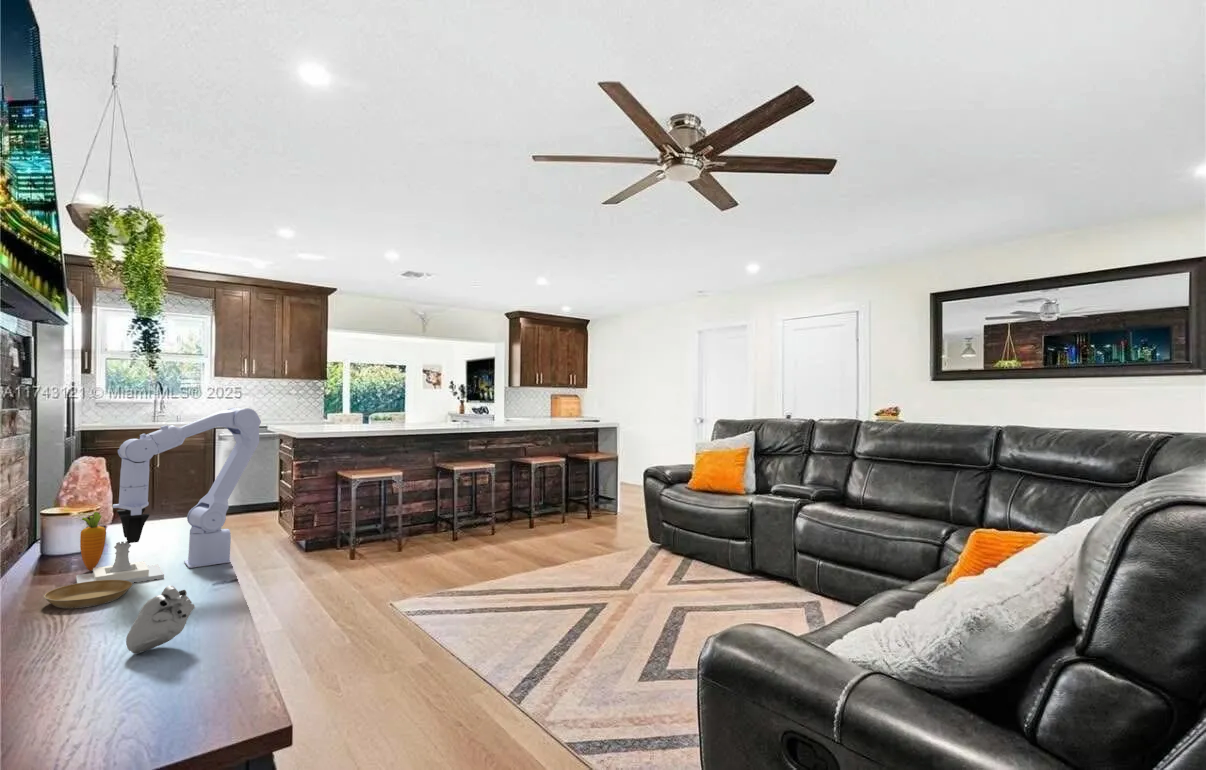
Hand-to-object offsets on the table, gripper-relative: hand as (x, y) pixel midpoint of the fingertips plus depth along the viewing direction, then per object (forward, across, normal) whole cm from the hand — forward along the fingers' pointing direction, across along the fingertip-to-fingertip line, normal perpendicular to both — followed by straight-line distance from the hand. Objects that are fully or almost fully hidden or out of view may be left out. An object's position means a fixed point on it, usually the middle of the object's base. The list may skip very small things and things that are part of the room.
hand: (131, 539), depth 145 cm
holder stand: (+9, +1, -2) cm, 10 cm away
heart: (+10, +57, -1) cm, 57 cm away
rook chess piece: (+8, +1, -2) cm, 9 cm away
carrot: (+10, -12, -7) cm, 17 cm away
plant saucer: (+10, +16, -8) cm, 20 cm away
